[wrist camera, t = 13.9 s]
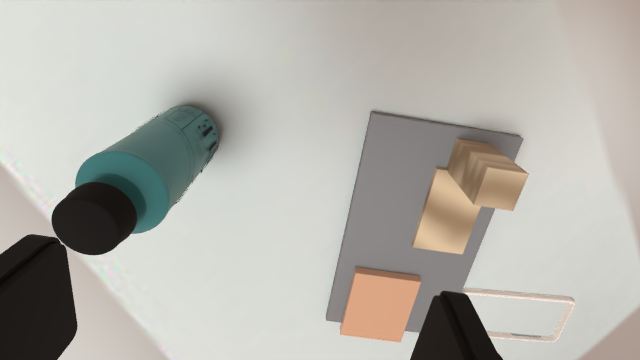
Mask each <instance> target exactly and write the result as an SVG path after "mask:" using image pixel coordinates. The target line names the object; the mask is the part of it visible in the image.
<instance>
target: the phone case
mask: <svg viewBox="0 0 640 360" xmlns="http://www.w3.org/2000/svg"><path fill="white" fill-rule="evenodd" d="M461 293H465V294H466V295H482V296H494V297H505V298H517V299H529V300H541V301H553V302H564V303H568V304H567V306H566V308H565V310H564V312H563V314H562V317H561V319H560V321H559V323H558V325H557V327H556V329H555V331H554V333H553V335H551V336H541V337H540V338H531V337H519V336H512V334H511V333H500V332H488V331H486V332H487V334H488V336H489V338H500V339H512V340H525V341H537V342H556V341H557V340H558V338H559V336H560V334H561V332H562V330H563V328H564V326H565V324H566V322H567V320H568V318H569V316H570V314H571V312H572V310H573V308H574V306H575V302H574V301H573V300H572V299H571V298H570V297H566V296H555V295H544V294H532V293H521V292H509V291H497V290H486V289H474V288H463V289H462V292H461Z"/></svg>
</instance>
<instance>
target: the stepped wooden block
mask: <svg viewBox="0 0 640 360" xmlns="http://www.w3.org/2000/svg"><path fill="white" fill-rule="evenodd" d="M528 175H529V174H528V173H527V172H526V171H525V170H523V169H522V168H521V167H519V166H518V165H517V164H515V163H514V162H513V161H512V160H510V159H509V158H508V157H506V156H505V155H504V154H502V153H501V152H500V151H498V150H497V149H496V148H495V147H493V146H492V145H491V144H488V143H482V142H476V141H470V140H463V139H457V138H456V141H455V144H454V147H453V150H452V153H451V156H450V159H449V162H448V165H447V168H441V167H435V170H434V174H433V177H432V180H431V183H430V186H429V190H428V193H427V196H426V199H425V202H424V206H423V209H422V212H421V215H420V218H419V222H418V225H417V228H416V231H415V234H414V237H413V241H412V247H413V248H420V249H427V250H434V251H441V252H448V253H455V254H463V252H464V249H465V247H466V244H467V242H468V239H469V236H470V234H471V231H472V229H473V226H474V223H475V221H476V218H477V216H478V213H479V210H480V208H481V206H484V207H491V208H497V209H504V210H510V211H513V210H514V207H515V205H516V203H517V200H518V198H519V196H520V193H521V191H522V189H523V186H524V184H525V182H526V179H527V177H528Z"/></svg>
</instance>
